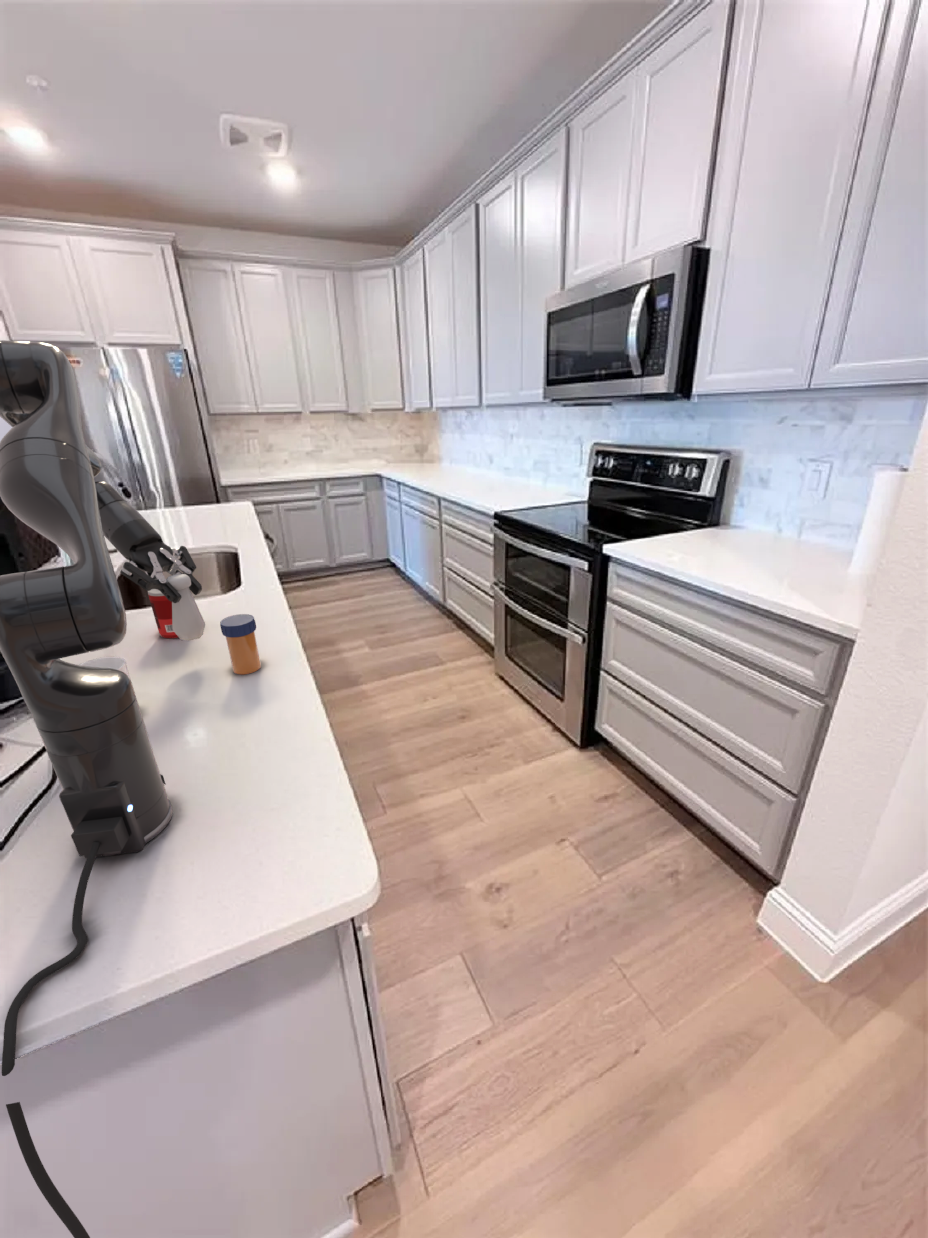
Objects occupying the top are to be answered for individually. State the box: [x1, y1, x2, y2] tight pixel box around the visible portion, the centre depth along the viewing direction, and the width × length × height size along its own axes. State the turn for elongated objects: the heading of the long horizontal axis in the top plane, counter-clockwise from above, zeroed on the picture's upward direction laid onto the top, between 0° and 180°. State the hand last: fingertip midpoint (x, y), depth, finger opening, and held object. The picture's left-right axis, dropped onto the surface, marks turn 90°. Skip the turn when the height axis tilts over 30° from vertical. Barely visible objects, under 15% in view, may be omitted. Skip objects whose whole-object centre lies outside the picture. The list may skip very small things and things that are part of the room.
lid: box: [219, 613, 257, 638], centre depth 98 cm, size 6×6×2 cm
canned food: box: [147, 589, 180, 639], centre depth 116 cm, size 8×8×11 cm
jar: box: [225, 631, 262, 675], centre depth 99 cm, size 5×5×10 cm
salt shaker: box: [165, 574, 206, 642], centre depth 100 cm, size 6×6×13 cm
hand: (188, 595), depth 99 cm, fingers closed on salt shaker, 4 cm apart
